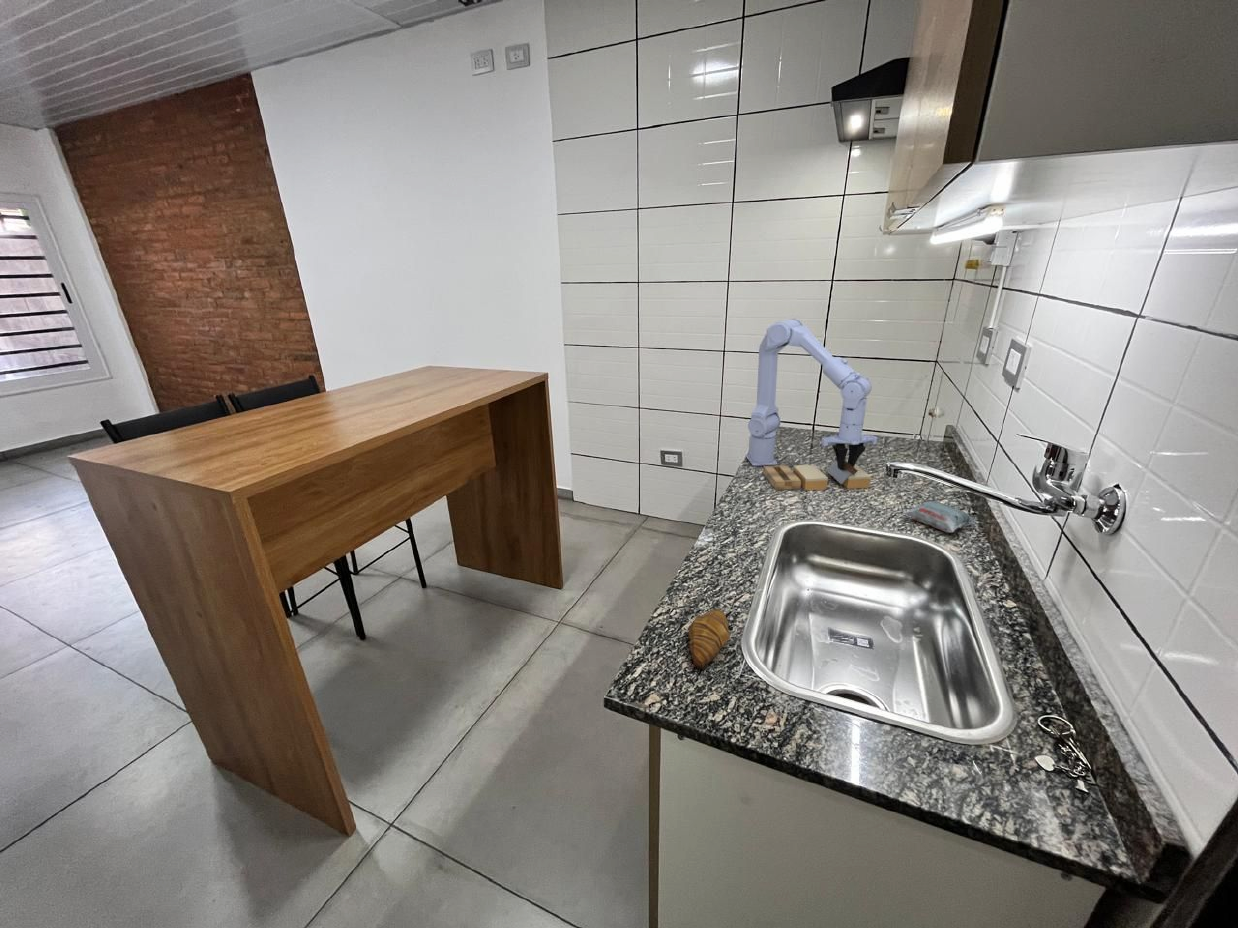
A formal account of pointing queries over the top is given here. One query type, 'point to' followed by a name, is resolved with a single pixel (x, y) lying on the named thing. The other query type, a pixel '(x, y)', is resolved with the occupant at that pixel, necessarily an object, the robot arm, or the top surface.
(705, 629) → the croissant
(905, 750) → the top surface
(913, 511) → the packaged food
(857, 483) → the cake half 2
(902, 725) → the top surface
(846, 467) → the knife
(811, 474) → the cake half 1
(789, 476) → the knife block
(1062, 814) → the top surface
